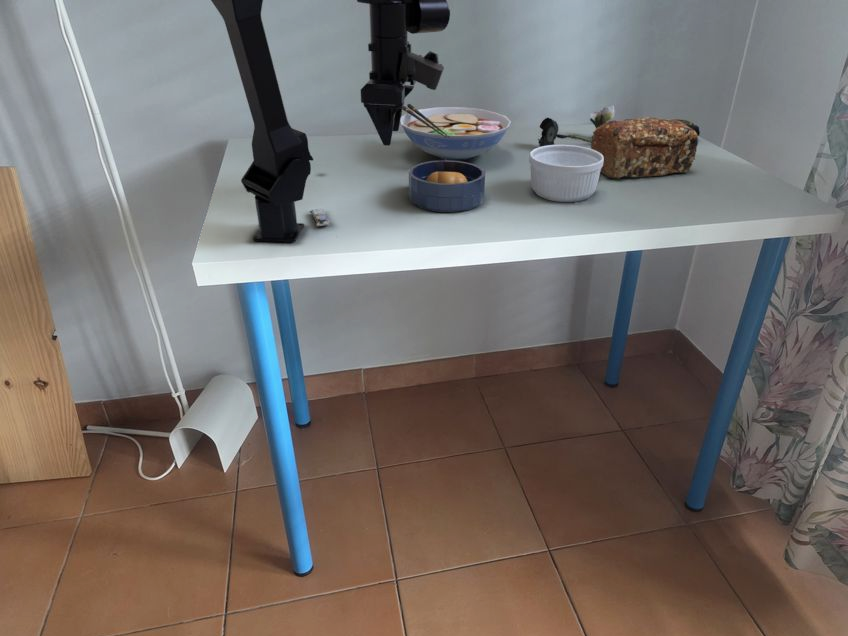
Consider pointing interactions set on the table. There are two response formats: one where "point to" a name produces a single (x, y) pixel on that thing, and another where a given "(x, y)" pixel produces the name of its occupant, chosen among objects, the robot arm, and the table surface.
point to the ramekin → (565, 172)
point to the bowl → (446, 186)
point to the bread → (645, 147)
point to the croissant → (446, 177)
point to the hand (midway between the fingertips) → (391, 137)
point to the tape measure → (690, 125)
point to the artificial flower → (552, 129)
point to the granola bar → (320, 217)
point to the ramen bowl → (454, 130)
